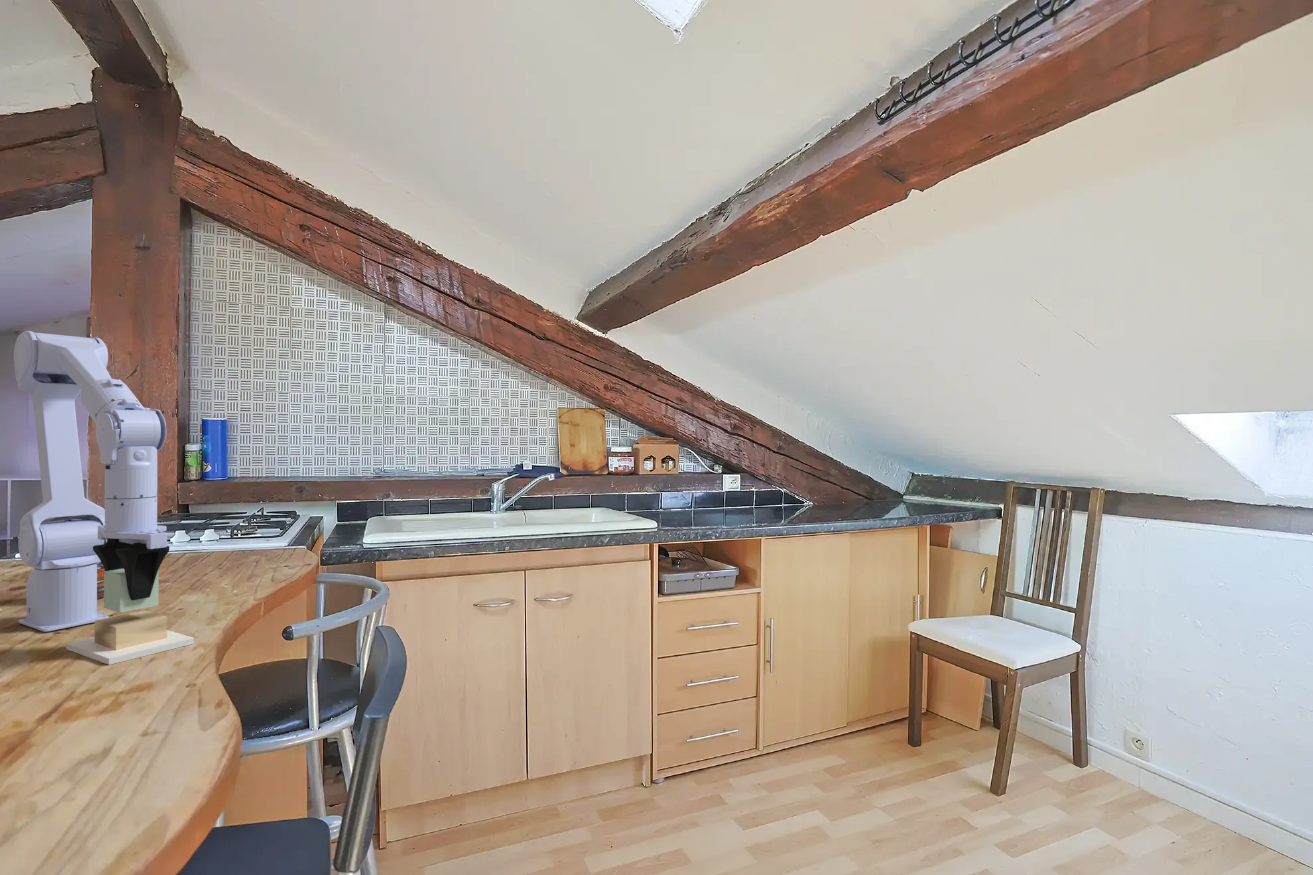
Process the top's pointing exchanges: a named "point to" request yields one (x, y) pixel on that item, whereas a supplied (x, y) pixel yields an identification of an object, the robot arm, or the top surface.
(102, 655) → the build base
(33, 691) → the top surface
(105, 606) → the sage block
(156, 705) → the top surface
